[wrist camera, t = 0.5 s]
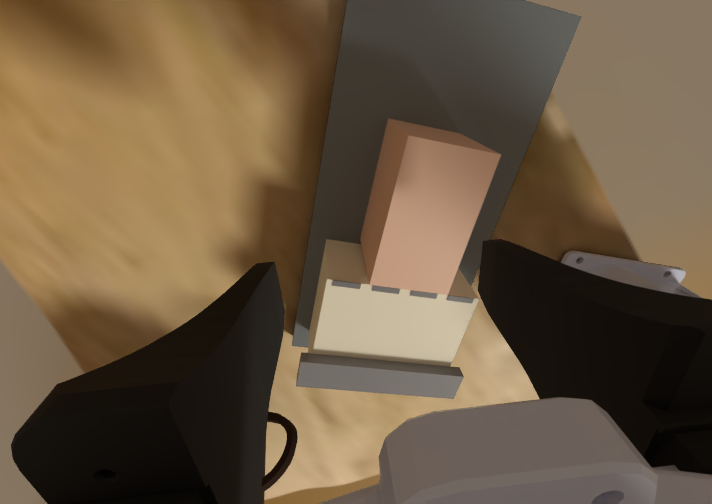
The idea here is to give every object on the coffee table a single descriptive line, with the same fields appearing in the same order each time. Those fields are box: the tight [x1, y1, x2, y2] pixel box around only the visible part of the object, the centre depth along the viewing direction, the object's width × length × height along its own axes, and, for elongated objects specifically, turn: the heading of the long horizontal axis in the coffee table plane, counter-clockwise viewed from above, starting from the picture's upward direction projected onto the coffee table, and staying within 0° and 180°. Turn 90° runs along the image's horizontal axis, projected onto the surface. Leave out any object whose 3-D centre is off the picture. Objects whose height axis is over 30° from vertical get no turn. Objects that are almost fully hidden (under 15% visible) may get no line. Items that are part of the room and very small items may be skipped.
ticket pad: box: [296, 239, 479, 399], centre depth 21 cm, size 9×7×5 cm
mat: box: [292, 0, 581, 348], centre depth 21 cm, size 11×22×1 cm, turn 168°
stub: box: [360, 118, 501, 295], centre depth 18 cm, size 4×7×5 cm, turn 168°
